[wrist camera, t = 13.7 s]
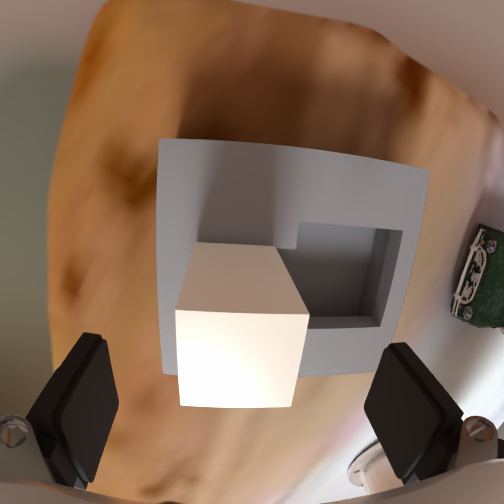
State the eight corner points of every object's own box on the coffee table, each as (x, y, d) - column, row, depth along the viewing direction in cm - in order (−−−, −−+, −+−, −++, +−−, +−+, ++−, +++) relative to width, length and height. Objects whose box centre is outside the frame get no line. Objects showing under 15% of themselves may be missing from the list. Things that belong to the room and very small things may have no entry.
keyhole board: (387, 163, 21) (429, 170, 16) (355, 332, 25) (381, 370, 20) (175, 141, 19) (159, 138, 14) (173, 329, 24) (163, 373, 19)
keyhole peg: (272, 218, 20) (328, 300, 9) (265, 289, 22) (301, 414, 11) (193, 213, 20) (157, 293, 9) (192, 286, 21) (167, 412, 10)
